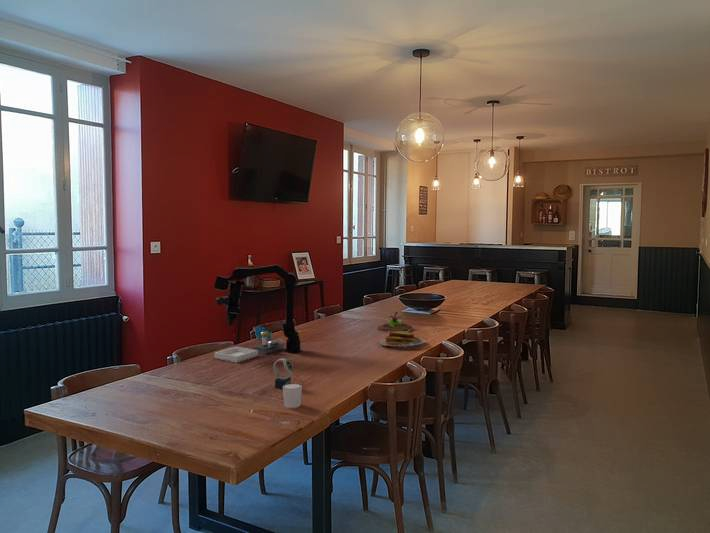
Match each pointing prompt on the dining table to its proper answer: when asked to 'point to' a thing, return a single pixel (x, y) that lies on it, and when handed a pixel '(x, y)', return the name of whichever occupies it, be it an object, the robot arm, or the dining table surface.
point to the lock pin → (264, 338)
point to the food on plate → (401, 339)
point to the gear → (258, 331)
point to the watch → (281, 379)
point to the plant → (394, 325)
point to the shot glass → (292, 395)
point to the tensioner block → (269, 347)
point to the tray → (236, 354)
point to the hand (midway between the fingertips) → (229, 323)
